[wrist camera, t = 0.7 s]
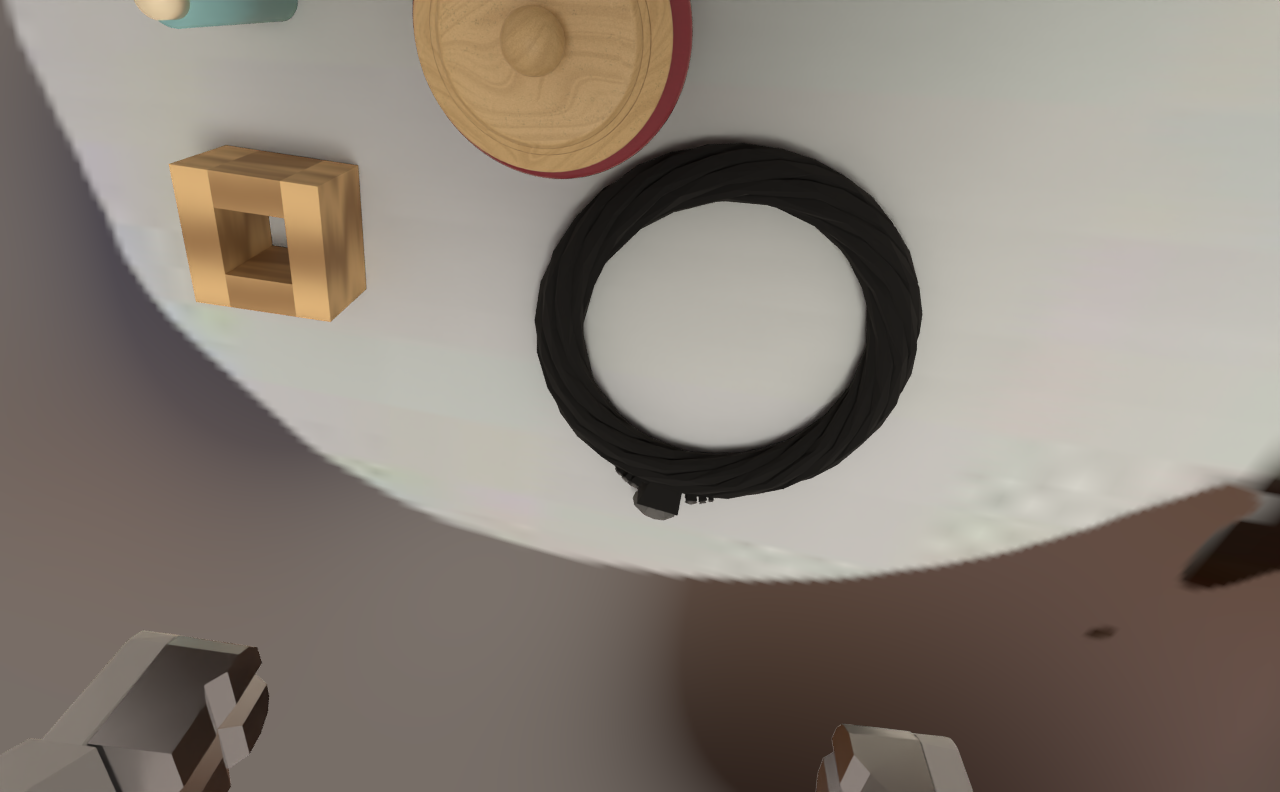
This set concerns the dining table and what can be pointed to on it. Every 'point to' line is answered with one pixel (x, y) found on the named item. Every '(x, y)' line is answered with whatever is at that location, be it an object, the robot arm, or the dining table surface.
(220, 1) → the teal peg
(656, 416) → the dining table surface
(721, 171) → the cable lock
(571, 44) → the canister
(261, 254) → the wooden square frame
